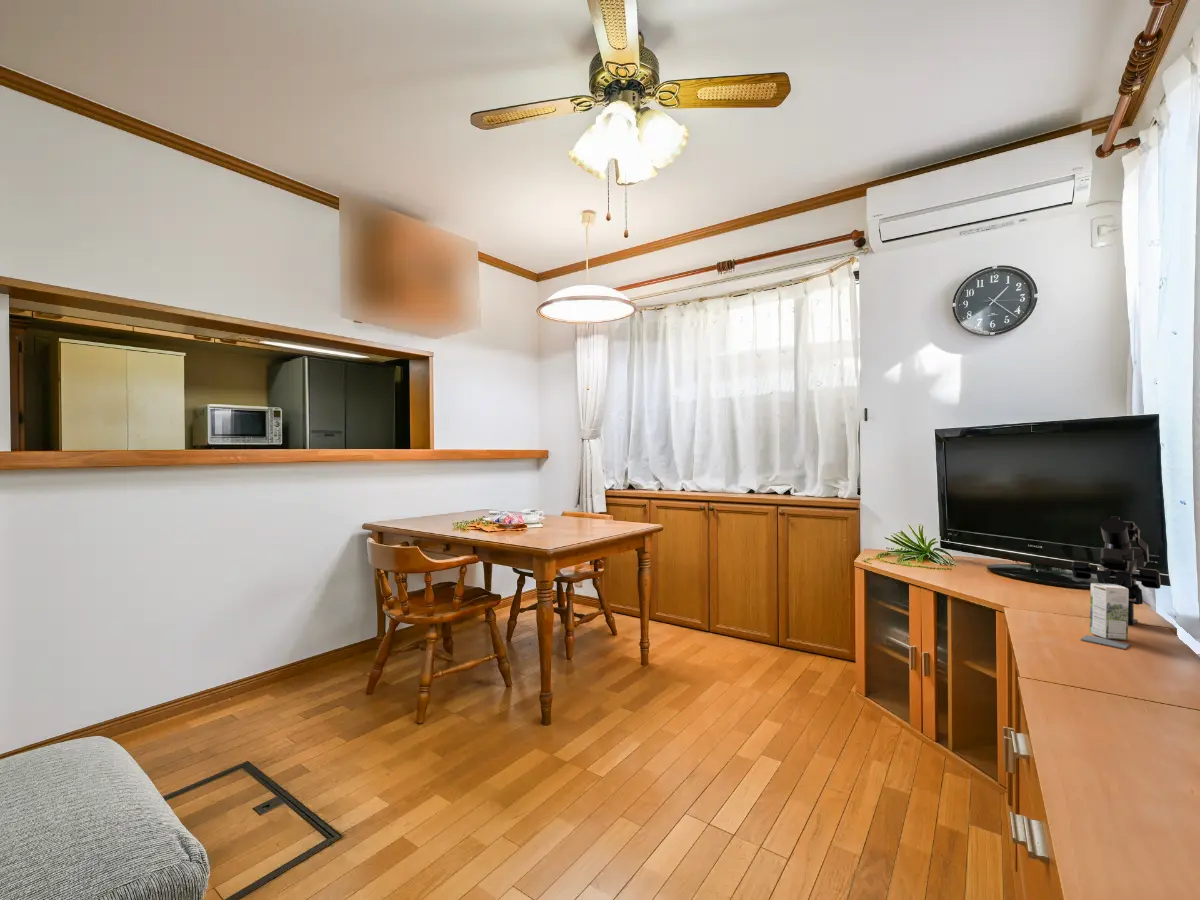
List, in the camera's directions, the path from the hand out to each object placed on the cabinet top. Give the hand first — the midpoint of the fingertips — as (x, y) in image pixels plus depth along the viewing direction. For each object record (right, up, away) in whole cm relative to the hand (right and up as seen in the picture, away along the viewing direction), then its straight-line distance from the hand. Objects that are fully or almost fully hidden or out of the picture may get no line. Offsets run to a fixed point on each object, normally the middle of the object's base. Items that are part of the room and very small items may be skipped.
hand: (1111, 597), depth 156 cm
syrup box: (-4, -10, -4) cm, 12 cm away
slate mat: (-9, -10, -8) cm, 16 cm away
